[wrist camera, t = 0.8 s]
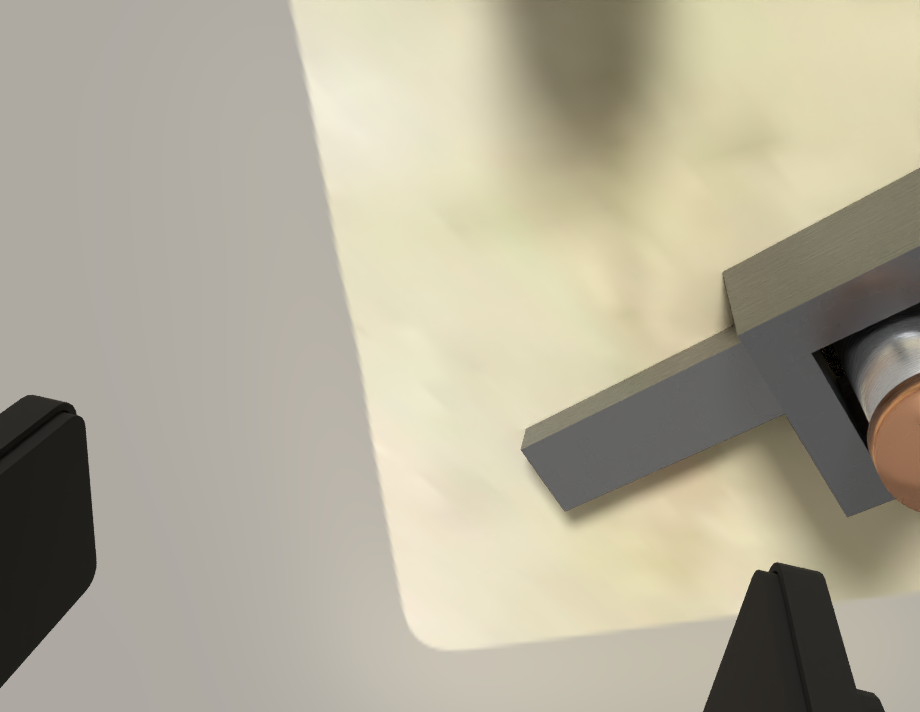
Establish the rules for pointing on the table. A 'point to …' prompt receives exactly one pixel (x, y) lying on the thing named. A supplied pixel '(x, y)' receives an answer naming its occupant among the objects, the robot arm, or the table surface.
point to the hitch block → (756, 363)
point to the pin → (889, 397)
